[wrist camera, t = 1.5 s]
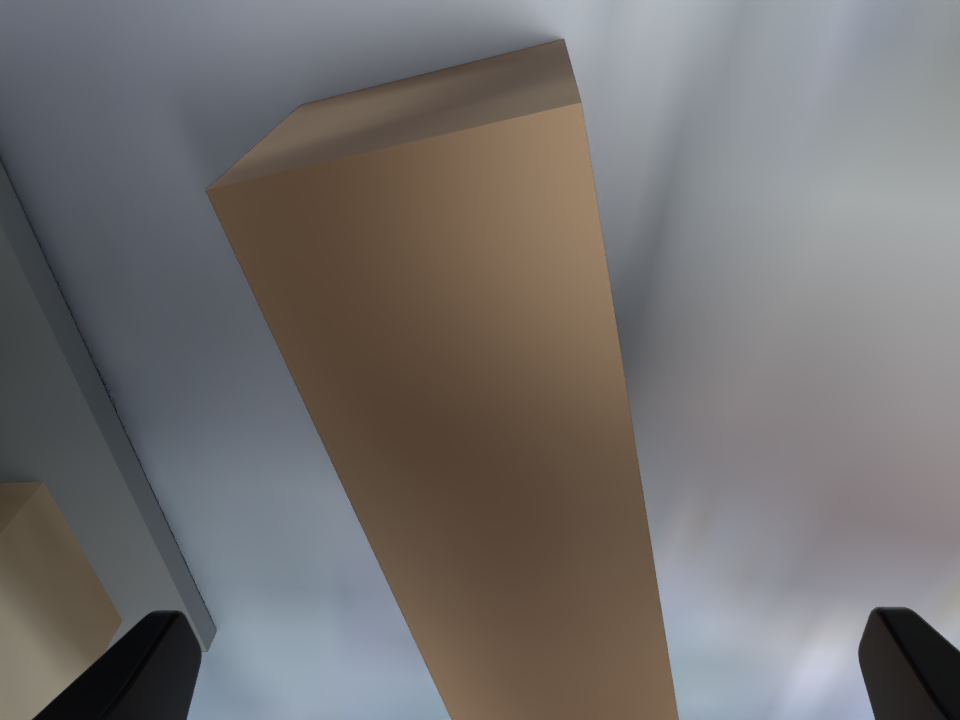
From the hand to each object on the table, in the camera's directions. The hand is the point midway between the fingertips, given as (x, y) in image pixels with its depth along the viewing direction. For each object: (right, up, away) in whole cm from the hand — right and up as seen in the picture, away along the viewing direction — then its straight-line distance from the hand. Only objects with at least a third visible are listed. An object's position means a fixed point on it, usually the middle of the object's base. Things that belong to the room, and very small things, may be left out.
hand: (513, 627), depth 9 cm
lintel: (0, +3, +4) cm, 5 cm away
